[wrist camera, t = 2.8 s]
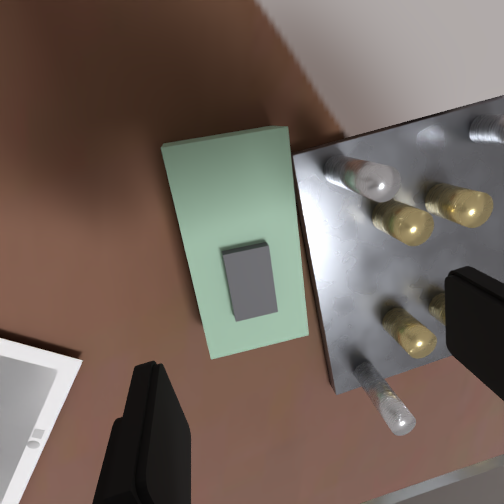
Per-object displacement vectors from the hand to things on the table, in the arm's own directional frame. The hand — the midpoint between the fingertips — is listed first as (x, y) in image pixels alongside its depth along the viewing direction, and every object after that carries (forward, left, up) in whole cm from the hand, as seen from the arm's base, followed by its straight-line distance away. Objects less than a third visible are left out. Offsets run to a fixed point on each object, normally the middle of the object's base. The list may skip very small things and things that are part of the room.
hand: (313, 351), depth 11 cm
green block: (0, -1, -12) cm, 12 cm away
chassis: (+5, +10, -11) cm, 16 cm away
